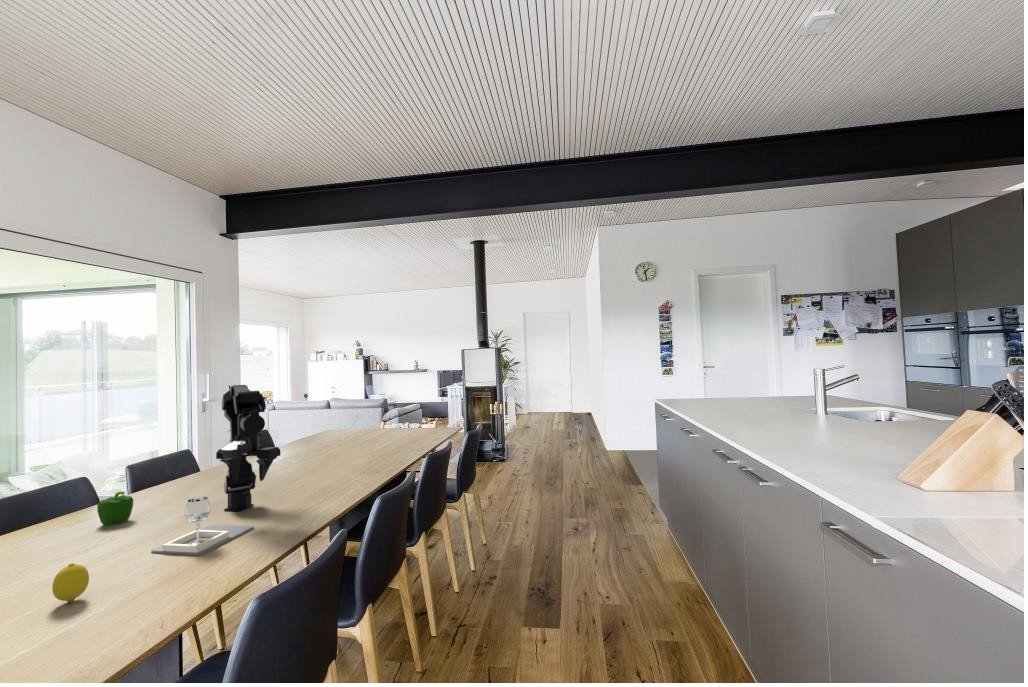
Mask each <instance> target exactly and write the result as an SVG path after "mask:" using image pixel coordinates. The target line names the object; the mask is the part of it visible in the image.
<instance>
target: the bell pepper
mask: <svg viewBox="0 0 1028 687" xmlns="http://www.w3.org/2000/svg"><path fill="white" fill-rule="evenodd" d="M124 494H126V492H125V491H123V490H121V491H120V490H119V491H117V492H116V493H115V494H114V496H109V497H107V498H106V499H102V500H99V502H98V503H97V504H96V506H97V507H96V508H97V514H98V518H99V521H100V523H101V524H102V525H104V526H112V525H117V524H122V523H123V524H124V523H126V522H127V521H128V520H129V519H130V517H131V515H132V512H133V507H134V498H133V497H132V496H130V495H129V496H128V495H124Z"/></svg>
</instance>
